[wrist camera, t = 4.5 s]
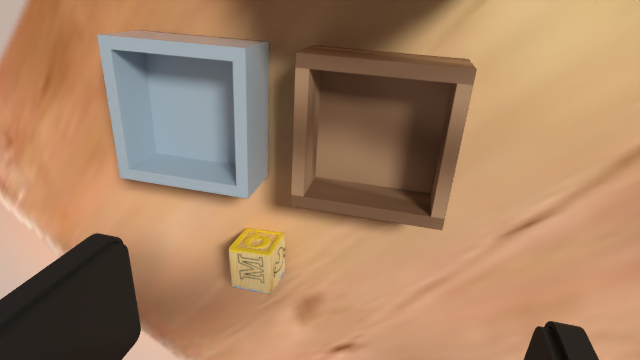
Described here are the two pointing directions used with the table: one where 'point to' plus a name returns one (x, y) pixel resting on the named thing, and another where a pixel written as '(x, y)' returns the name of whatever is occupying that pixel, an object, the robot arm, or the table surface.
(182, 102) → the slate box
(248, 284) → the alphabet block
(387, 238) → the table surface
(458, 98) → the walnut box
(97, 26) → the table surface
